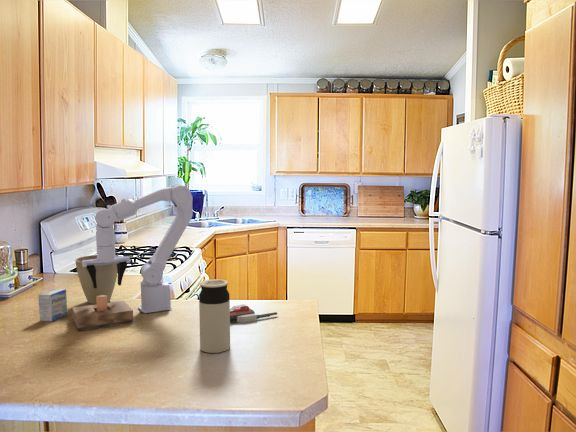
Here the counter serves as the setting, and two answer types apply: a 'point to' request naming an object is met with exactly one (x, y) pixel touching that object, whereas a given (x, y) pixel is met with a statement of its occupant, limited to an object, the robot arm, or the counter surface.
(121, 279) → the robot arm
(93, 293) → the plant pot
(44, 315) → the medicine box
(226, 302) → the travel mug
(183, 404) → the counter surface
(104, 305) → the peg
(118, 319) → the socket board
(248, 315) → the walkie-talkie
